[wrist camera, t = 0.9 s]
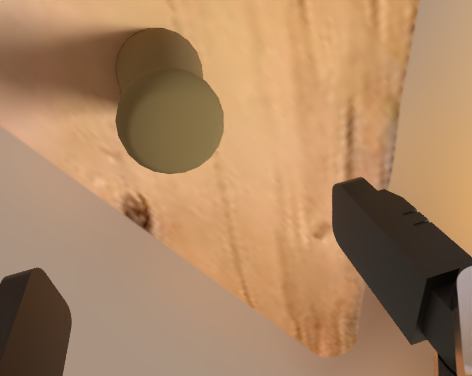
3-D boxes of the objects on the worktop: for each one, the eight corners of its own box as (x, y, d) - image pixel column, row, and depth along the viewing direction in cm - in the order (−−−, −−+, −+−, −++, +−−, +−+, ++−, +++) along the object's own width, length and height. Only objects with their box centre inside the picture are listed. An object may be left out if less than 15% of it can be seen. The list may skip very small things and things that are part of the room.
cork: (182, 125, 27) (206, 205, 18) (104, 95, 24) (85, 171, 15) (216, 52, 25) (262, 102, 16) (132, 10, 22) (130, 41, 13)
